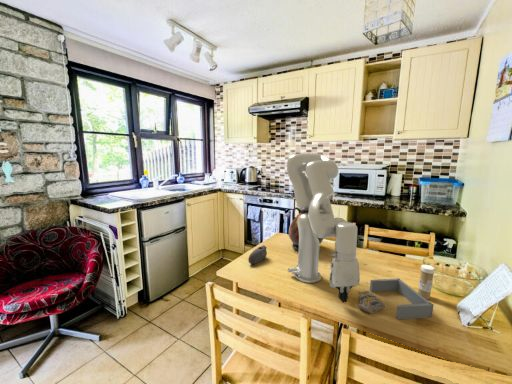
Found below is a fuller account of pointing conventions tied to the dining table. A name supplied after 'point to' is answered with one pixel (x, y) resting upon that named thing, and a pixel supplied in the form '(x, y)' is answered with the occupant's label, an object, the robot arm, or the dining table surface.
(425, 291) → the sprinkles bottle
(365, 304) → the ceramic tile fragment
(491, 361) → the dining table surface
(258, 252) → the perforated stone tool
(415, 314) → the box
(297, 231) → the amphora vase
